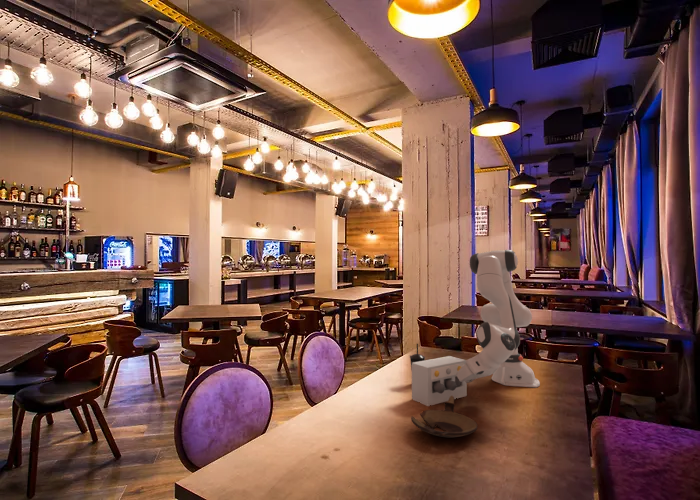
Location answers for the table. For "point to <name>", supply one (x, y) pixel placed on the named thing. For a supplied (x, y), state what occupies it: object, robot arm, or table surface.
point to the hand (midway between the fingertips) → (467, 381)
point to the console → (436, 379)
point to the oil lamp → (446, 422)
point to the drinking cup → (416, 357)
